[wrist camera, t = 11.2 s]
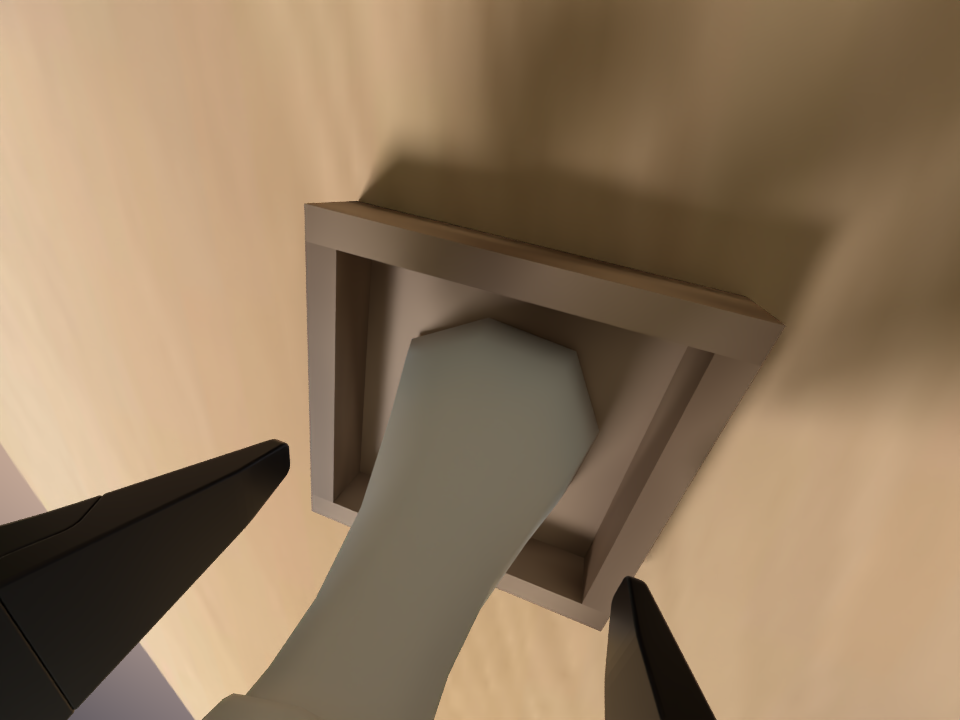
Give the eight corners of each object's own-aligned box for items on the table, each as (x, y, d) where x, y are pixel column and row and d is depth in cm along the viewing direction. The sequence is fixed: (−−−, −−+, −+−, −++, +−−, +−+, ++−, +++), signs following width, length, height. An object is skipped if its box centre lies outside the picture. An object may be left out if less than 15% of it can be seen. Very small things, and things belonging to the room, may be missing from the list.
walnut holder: (747, 296, 10) (785, 325, 8) (601, 570, 16) (600, 631, 14) (356, 201, 12) (304, 203, 10) (347, 471, 18) (311, 511, 16)
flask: (388, 309, 13) (-54, 557, 4) (610, 321, 11) (645, 837, 2) (411, 476, 16) (176, 827, 7) (589, 509, 14) (569, 1051, 5)
